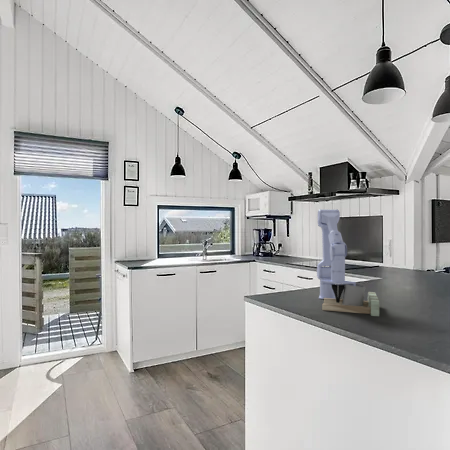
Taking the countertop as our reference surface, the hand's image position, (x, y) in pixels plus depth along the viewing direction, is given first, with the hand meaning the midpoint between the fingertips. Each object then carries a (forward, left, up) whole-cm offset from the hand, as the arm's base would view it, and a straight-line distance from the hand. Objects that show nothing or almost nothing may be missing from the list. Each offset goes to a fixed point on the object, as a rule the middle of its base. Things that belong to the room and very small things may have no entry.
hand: (337, 302), depth 154 cm
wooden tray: (0, +4, -2) cm, 4 cm away
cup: (0, +6, -2) cm, 6 cm away
